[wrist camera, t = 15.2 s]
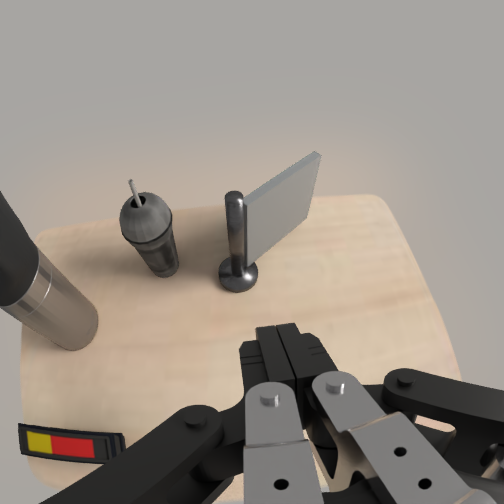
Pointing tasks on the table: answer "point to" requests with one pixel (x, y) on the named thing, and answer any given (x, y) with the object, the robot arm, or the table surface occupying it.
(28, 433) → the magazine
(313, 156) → the door
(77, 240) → the table surface
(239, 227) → the hinge post
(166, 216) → the beverage cup
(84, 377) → the table surface
